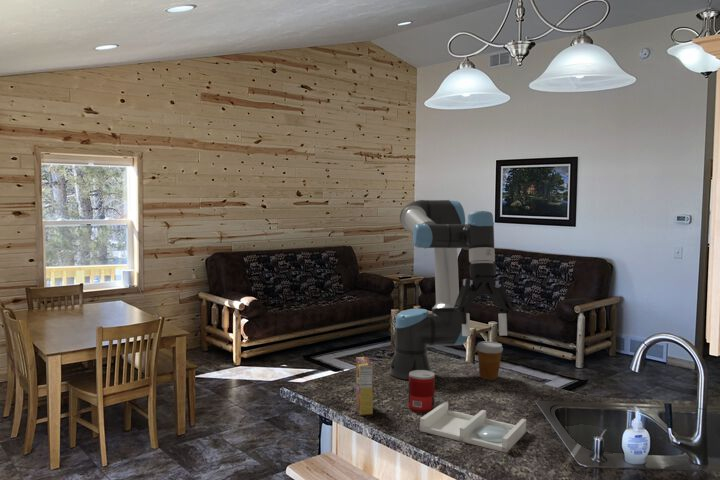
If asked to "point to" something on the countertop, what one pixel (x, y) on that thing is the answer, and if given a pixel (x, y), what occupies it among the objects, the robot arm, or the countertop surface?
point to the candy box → (364, 385)
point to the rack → (469, 427)
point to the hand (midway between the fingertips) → (485, 335)
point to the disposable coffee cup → (489, 359)
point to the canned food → (421, 390)
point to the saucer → (491, 433)
